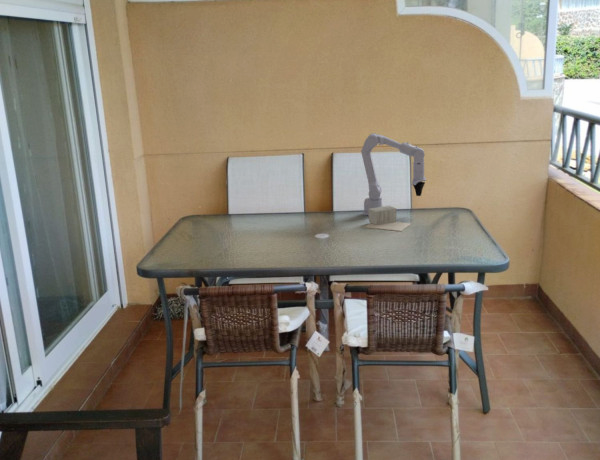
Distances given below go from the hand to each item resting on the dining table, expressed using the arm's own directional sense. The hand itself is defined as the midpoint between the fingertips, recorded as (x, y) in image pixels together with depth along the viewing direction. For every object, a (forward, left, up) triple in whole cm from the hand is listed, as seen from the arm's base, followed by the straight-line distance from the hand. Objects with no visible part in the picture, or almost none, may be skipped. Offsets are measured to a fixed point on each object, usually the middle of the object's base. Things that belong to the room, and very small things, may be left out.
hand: (418, 195), depth 324 cm
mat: (-6, -28, -10) cm, 30 cm away
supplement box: (-8, -17, -6) cm, 20 cm away
